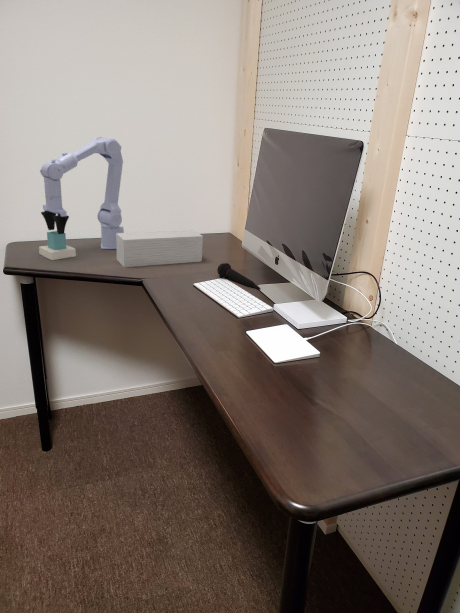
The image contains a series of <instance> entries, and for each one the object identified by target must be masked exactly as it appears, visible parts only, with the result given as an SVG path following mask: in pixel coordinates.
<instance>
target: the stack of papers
mask: <svg viewBox="0 0 460 613" xmlns="http://www.w3.org/2000/svg"><path fill="white" fill-rule="evenodd" d="M116 238H117V239H116V240H117V241H116V245H117V249H116V260H117V261H118V262H119V264H120V265H121V267H123V268H130V267H131V268H133V267H146V266H147V267H148V266H157V265H158V266H159V265H172V264H173V265H174V264H184V263H185V264H186V263H196V262H197V263H198V262H199V263H200V262H202V261H203V245H204V244H203V243H204V242H203V240H204V235H202V234H200V233H198V232H197V231H195V230H194V229H186V230H185V229H184V230H182V229H181V230H163V231H137V232H124V233H116Z"/></svg>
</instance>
